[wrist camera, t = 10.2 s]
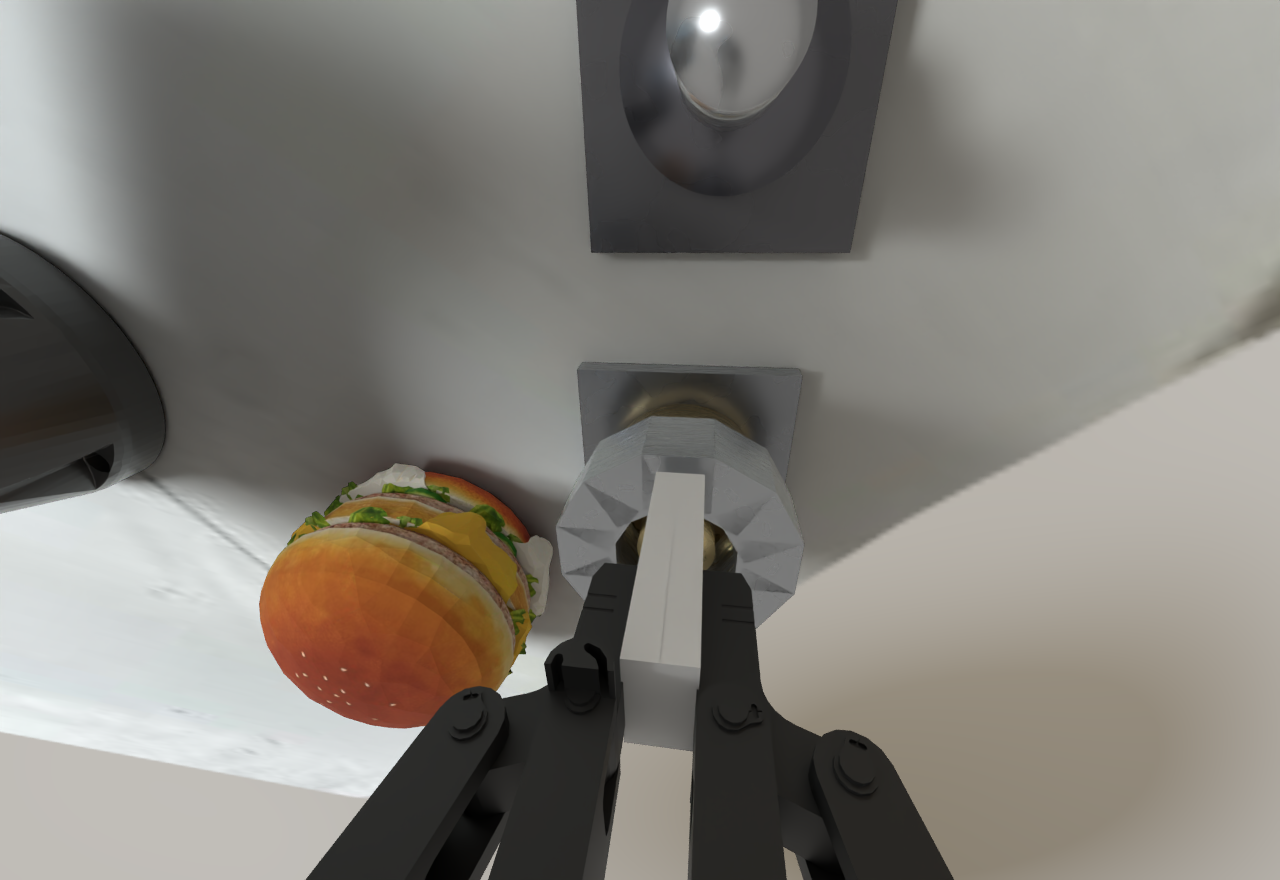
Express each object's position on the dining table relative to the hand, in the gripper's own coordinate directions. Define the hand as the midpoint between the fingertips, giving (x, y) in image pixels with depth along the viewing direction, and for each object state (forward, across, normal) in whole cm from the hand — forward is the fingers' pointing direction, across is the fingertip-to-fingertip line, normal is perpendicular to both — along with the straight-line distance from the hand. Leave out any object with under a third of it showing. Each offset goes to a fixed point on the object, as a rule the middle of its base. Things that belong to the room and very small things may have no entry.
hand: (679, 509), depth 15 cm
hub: (+9, 0, -3) cm, 9 cm away
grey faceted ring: (+4, 0, -3) cm, 5 cm away
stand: (+9, +1, +12) cm, 15 cm away
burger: (+9, -14, -10) cm, 20 cm away
